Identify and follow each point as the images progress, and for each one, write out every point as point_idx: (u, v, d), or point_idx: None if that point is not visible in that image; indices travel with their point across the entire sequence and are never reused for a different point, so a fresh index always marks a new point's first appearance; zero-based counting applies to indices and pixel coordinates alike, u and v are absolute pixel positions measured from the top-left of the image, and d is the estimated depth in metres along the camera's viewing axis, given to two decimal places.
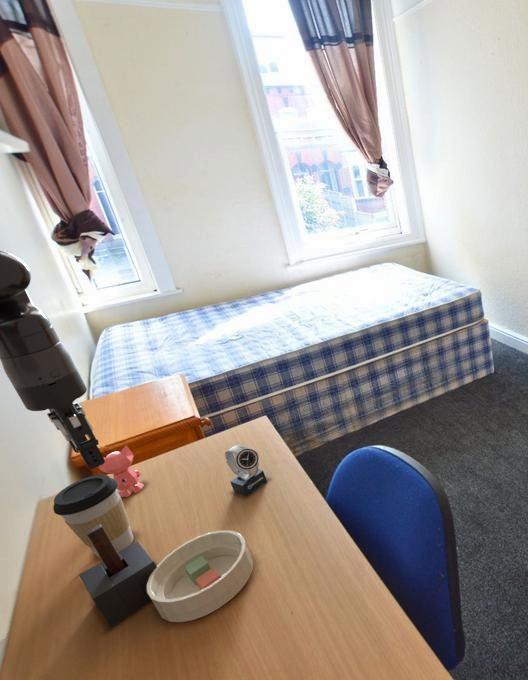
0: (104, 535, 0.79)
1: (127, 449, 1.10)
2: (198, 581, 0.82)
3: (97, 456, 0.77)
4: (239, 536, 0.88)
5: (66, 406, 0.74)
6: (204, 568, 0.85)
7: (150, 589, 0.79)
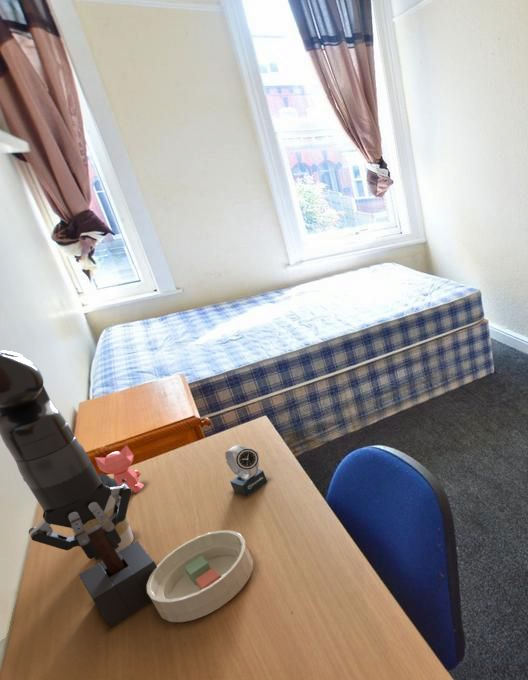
0: (104, 535, 0.79)
1: (127, 449, 1.10)
2: (198, 581, 0.82)
3: None
4: (239, 536, 0.88)
5: (101, 481, 0.78)
6: (204, 568, 0.85)
7: (150, 589, 0.79)
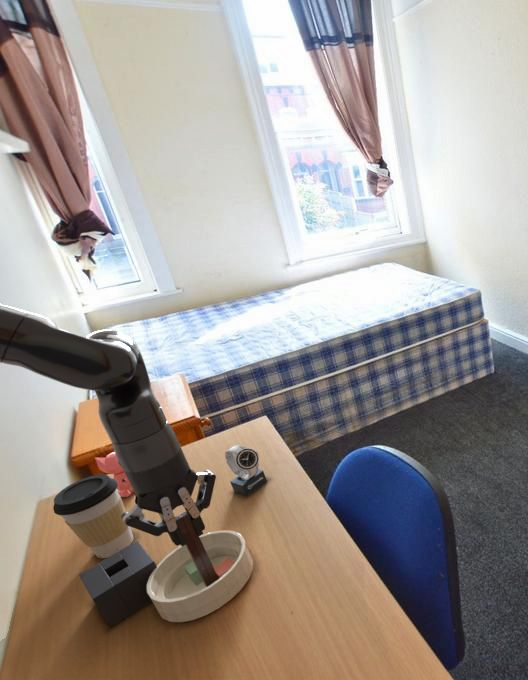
0: (190, 522, 0.78)
1: None
2: (215, 570, 0.84)
3: None
4: (239, 536, 0.88)
5: None
6: None
7: (150, 589, 0.79)
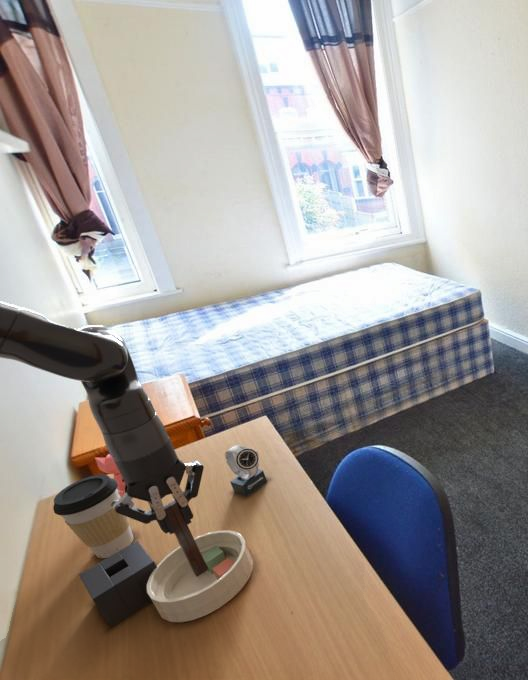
0: (178, 511, 0.81)
1: None
2: (215, 570, 0.84)
3: None
4: (239, 536, 0.88)
5: None
6: (219, 557, 0.87)
7: (150, 589, 0.79)
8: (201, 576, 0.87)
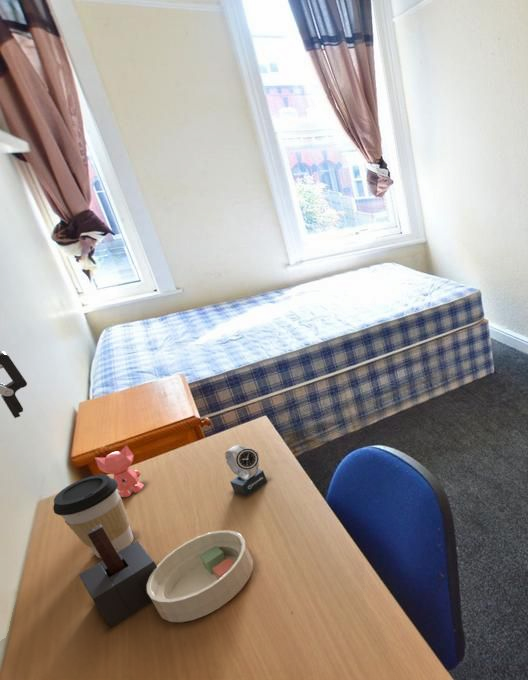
0: (104, 535, 0.79)
1: (127, 449, 1.10)
2: (215, 570, 0.84)
3: None
4: (239, 536, 0.88)
5: None
6: (219, 557, 0.87)
7: (150, 589, 0.79)
8: (201, 576, 0.87)
